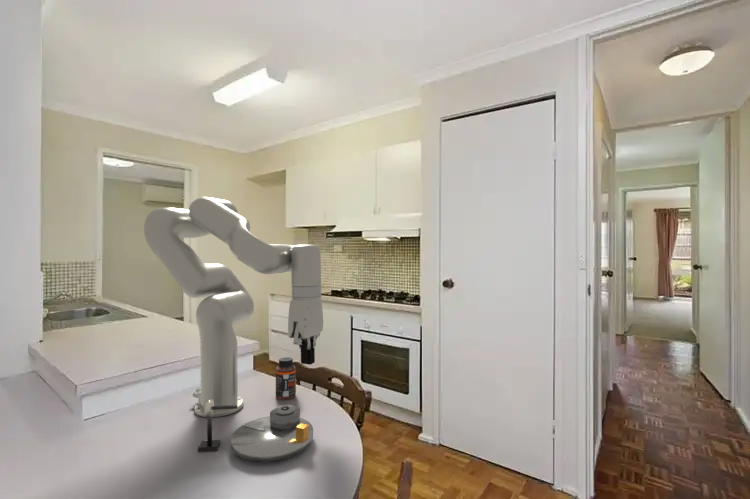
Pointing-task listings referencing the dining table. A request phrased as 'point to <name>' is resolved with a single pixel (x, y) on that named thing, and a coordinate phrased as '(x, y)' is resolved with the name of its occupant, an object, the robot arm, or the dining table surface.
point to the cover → (284, 418)
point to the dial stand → (208, 412)
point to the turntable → (270, 440)
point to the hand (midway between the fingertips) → (307, 363)
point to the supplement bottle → (285, 379)
